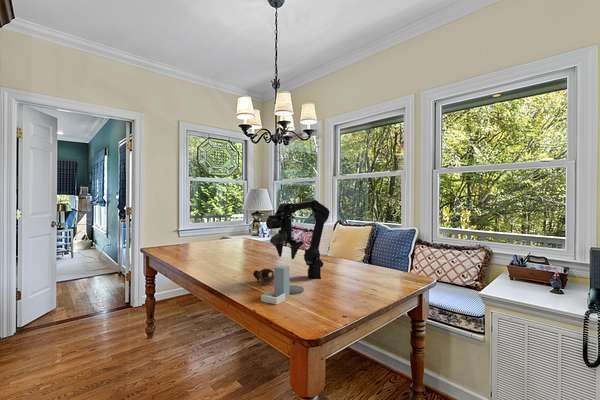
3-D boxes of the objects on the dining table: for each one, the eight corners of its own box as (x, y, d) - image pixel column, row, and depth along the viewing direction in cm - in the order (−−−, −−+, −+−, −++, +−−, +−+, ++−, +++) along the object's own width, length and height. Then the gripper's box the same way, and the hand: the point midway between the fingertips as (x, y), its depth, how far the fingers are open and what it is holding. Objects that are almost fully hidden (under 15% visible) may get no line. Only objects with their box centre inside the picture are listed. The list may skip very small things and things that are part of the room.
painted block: (280, 293, 133) (280, 265, 133) (289, 294, 130) (289, 266, 130) (274, 296, 128) (274, 267, 128) (283, 298, 126) (283, 268, 126)
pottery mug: (276, 281, 154) (277, 269, 150) (269, 293, 146) (271, 282, 142) (255, 274, 156) (256, 262, 152) (248, 286, 148) (248, 274, 144)
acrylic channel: (270, 296, 128) (270, 290, 128) (285, 299, 124) (285, 293, 124) (261, 301, 122) (261, 295, 122) (276, 304, 118) (276, 298, 118)
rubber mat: (302, 286, 144) (302, 284, 144) (305, 293, 132) (305, 292, 132) (278, 286, 142) (278, 285, 142) (279, 294, 130) (279, 293, 130)
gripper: (262, 227, 147) (262, 258, 148) (287, 230, 135) (287, 263, 135) (278, 225, 156) (278, 254, 156) (303, 228, 143) (303, 259, 143)
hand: (286, 258), depth 147 cm, fingers open, 9 cm apart
